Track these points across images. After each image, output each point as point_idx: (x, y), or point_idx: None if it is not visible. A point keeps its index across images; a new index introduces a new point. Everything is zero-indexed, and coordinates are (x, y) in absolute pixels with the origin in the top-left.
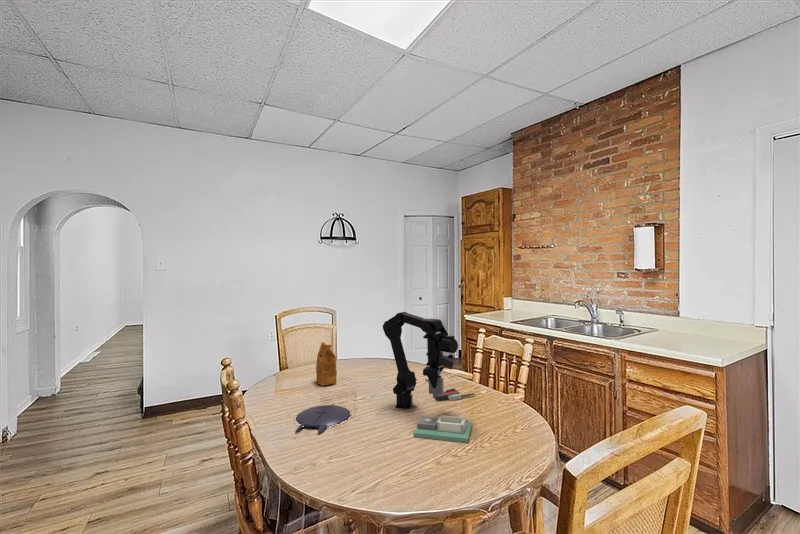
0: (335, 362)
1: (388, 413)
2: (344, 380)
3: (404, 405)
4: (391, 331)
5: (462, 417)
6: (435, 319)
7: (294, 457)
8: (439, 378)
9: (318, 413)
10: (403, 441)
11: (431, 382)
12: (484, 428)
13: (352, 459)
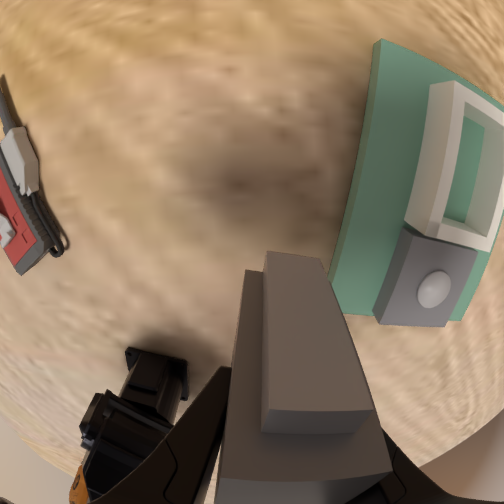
0: (82, 499)
1: None
2: (68, 448)
3: (180, 382)
4: None
5: (456, 98)
6: None
7: (437, 449)
8: (382, 463)
9: None
10: (467, 332)
11: None
12: (396, 3)
13: (483, 392)
